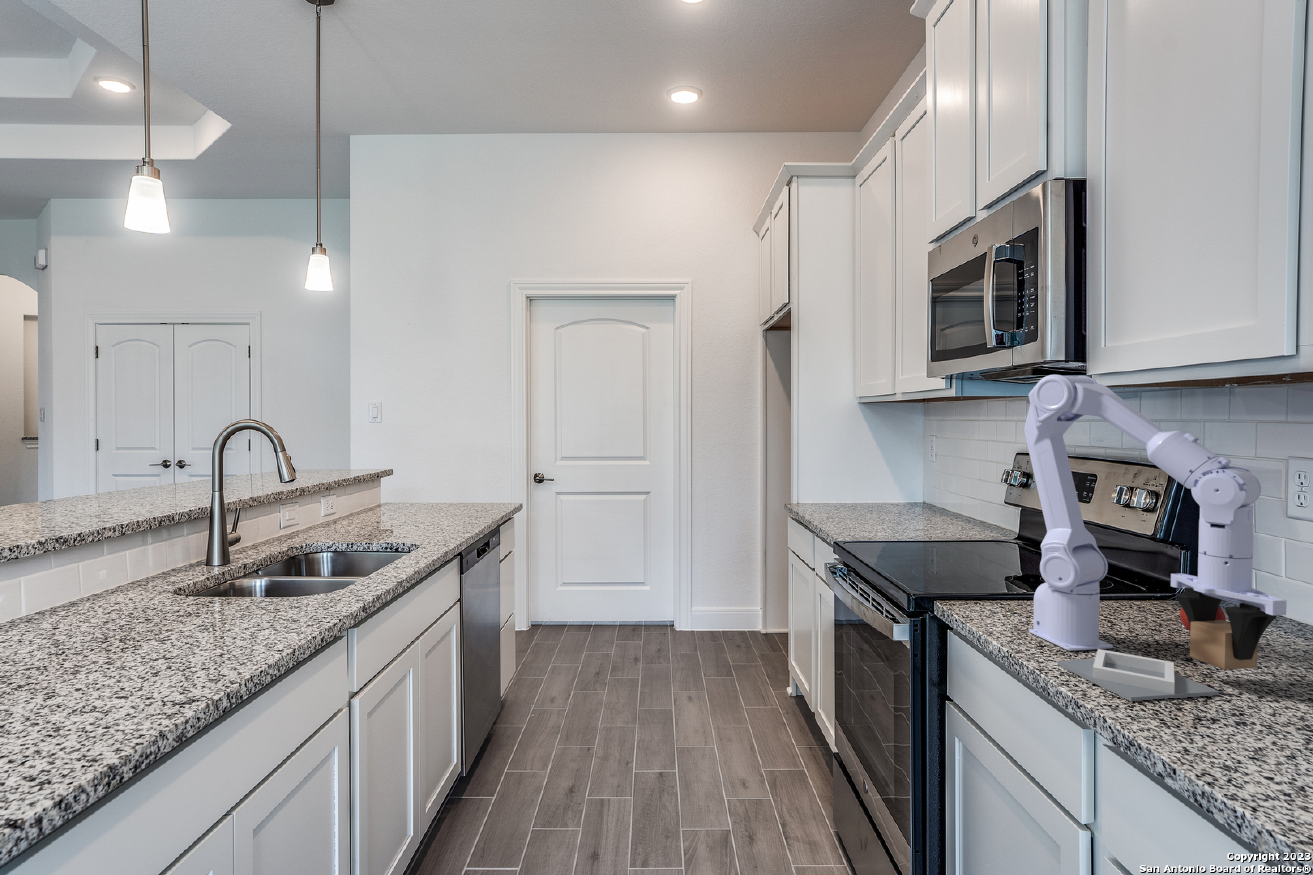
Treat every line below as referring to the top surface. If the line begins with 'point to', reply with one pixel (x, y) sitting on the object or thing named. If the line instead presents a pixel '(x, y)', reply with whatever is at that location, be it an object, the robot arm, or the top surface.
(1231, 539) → the robot arm
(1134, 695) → the base plate
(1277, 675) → the top surface
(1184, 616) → the onion
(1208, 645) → the block
